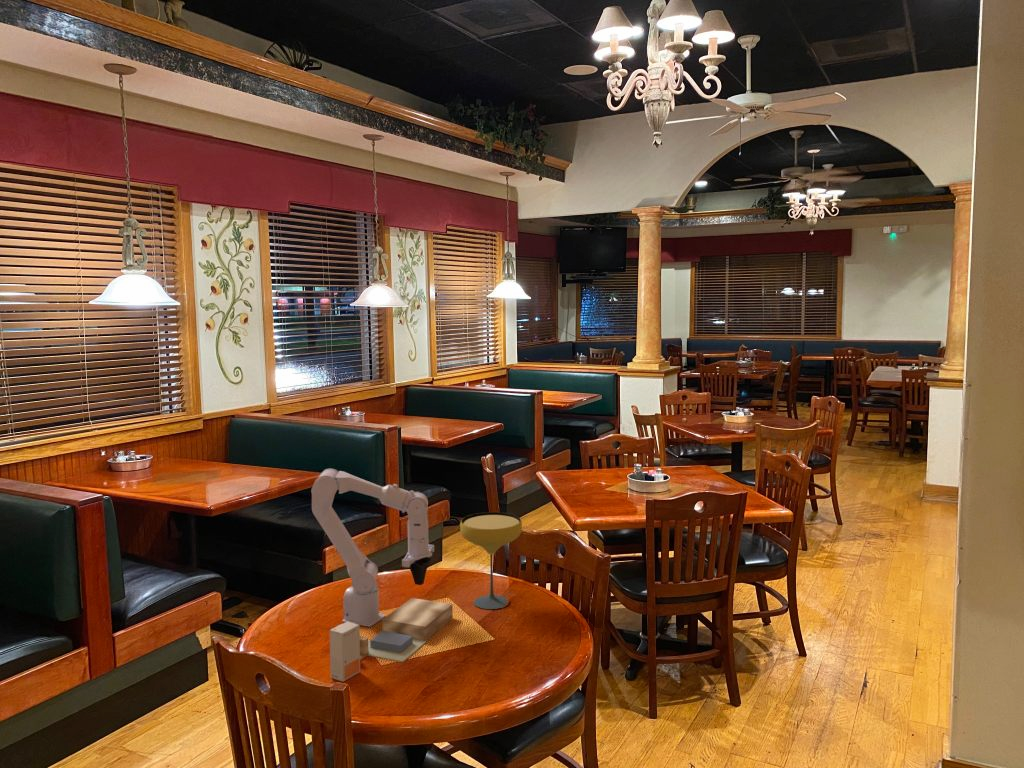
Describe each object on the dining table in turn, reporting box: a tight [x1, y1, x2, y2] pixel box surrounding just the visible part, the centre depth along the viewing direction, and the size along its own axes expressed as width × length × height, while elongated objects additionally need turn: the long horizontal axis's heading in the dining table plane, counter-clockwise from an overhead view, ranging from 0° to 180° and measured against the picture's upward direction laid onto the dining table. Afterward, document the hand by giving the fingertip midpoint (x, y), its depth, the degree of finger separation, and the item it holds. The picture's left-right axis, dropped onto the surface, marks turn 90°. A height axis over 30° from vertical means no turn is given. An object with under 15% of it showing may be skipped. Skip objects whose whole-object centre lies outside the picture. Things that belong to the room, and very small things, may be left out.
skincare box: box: [329, 621, 361, 683], centre depth 182 cm, size 6×4×12 cm
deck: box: [381, 597, 454, 642], centre depth 210 cm, size 13×16×4 cm
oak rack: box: [360, 636, 369, 661], centre depth 191 cm, size 5×6×4 cm
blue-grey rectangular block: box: [369, 630, 413, 653], centre depth 197 cm, size 9×6×2 cm, turn 68°
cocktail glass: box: [459, 511, 523, 610], centre depth 224 cm, size 18×18×25 cm
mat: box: [367, 639, 427, 663], centre depth 197 cm, size 14×12×1 cm
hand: (419, 584), depth 214 cm, fingers closed
